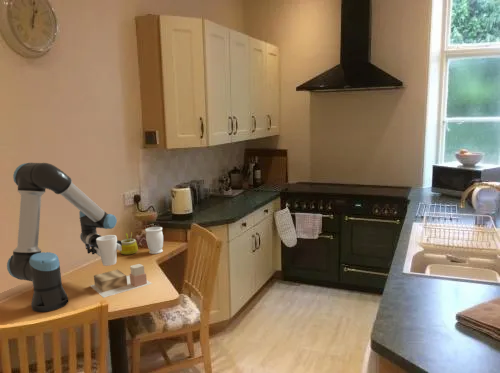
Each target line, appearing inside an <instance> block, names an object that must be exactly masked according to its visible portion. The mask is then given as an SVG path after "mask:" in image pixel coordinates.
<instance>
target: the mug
mask: <svg viewBox="0 0 500 373" xmlns="http://www.w3.org/2000/svg"><path fill="white" fill-rule="evenodd" d="M130 233H131V234H130V236H133V232H132V231H131V232H130ZM120 241H121V243H122V246H121V248H122V251H120V250H119V252H120V253H121V255H123V256H124V255H125V256H126V255H127V256H129V255H133V254H135V253H137V252H138V250H139V248H138V243H137V240H136V239H135V238H129V236H128V233H127V232H126V233H125V239H122V240H120Z"/></svg>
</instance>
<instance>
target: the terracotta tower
mask: <svg viewBox="0 0 500 373" xmlns="http://www.w3.org/2000/svg"><path fill="white" fill-rule="evenodd" d="M129 269H130V273H129V275H130V283H131V284H132V285H133V286H135V287H137V286H140V285H144V284H147V280H148V279H147V273H146V272H145V266H144V265H143V264H141V263H137V264H133V265H130V266H129Z"/></svg>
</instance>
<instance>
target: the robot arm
mask: <svg viewBox="0 0 500 373" xmlns="http://www.w3.org/2000/svg"><path fill="white" fill-rule="evenodd" d="M12 178H13V182H14V183H15V185H16V186H17V192H18V193H19V194H20V202H19V203H20V204H19V215H18V216H19V217H18V218H19V219H18V232H17V235H18V236H17V243H16V244H17V246H16V247H15V249H13V250H12V255H11V256H10V257H9V258H8V260H7V263H6V269H7V272H8V274H9V275H10V276H11V277H13V278H15V279H17V280H21V281H28V282H32V287H33V295H32V299H31V303H30V305H31V310H32V311H33V312H37V313H43V312H46V313H47V312H52V311H55V310H58V309H60V308H63V307H64V306H66V305H67V304H68V303H69V297H68V294H67V292H66V291H65V289H64V287H63V282H62V281H63V280H62V274H61V273H62V272H61V266H60V264H61V263H60V260H59V256H58V255H57V254H56V253H54V252H50V251H49V252H48V251H47V252H44V251H42V249H41V248H40V247H39V240H40V239H39V237H40V236H39V235H40V225H41V224H40V222H41V221H40V220H41V210H42V209H41V207H42V196H43V195H44V194H45V193H46V189H47V190H49V191H52V192H53V193H54V194H55V195H60V196H62V197H63V198H64V199H65V200H66V201H67V202H69V203H71V205H73V207H75V208H76V209H77V210H78V211H79V222H80V230H81V232H80V234H79V235H80V236H79V238H80V240H81V242H82V243H83V244H84V246H85V249H86V251H87V254H91V255H95V254H96V255H97V256H99V257H101V253H100V250H99V248H98V245H97V242H96V239H97V238H98V237H101V236H102V235H101V234H99V233H98V232H97V229H104V230H109V229H111V230H112V229H114V228H115V227H116V225H117V220H118V219H117V217H116V215H114V214H112V213H107V212H106V211H105V210H104V209H102V207H100V206H99V205H98V204H97V203H96V202H95V201H94V200H92V198H90V197H89V196H88V195H87V194H86V193H85V192H84V191H83V190H81V189H80V188H79V187H78V186H77V185H75V183H73V179H72V178H71V177H70V176H69V175H67V174H66V173H65V172H64V171H63V170H61V169H60V168H58V167H57V166H56V165H55V164H54V165H53V164H51V163H47V162H26V163H22V164H20V165H18V166H17V167H16V168H15V170H14V172H13V176H12ZM121 241H122V240H118V239H117V250H118V251H119V252H120V251H122V248H121V246H122V243H121Z"/></svg>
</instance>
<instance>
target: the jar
mask: <svg viewBox="0 0 500 373" xmlns="http://www.w3.org/2000/svg"><path fill="white" fill-rule="evenodd" d="M144 232H146V233H145V240H146V244H147V247H148V250H149V251H148V253H149V254H150V255H152V254H153V255H158V254H160V253H162V252H164V250H163V247H164V234H163V233H164V232H163V226H151V227H147V228H145V231H144Z"/></svg>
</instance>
